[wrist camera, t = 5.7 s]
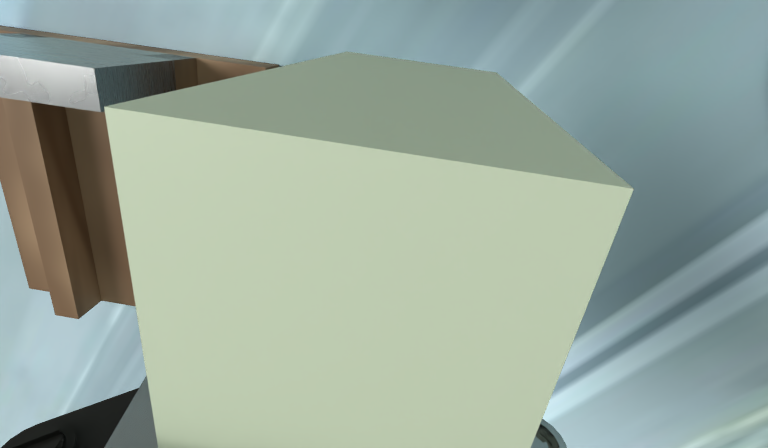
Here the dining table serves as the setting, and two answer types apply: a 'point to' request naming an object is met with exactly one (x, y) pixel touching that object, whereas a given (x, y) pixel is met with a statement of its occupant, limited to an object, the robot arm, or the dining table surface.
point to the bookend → (80, 72)
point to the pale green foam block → (356, 255)
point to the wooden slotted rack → (78, 187)
